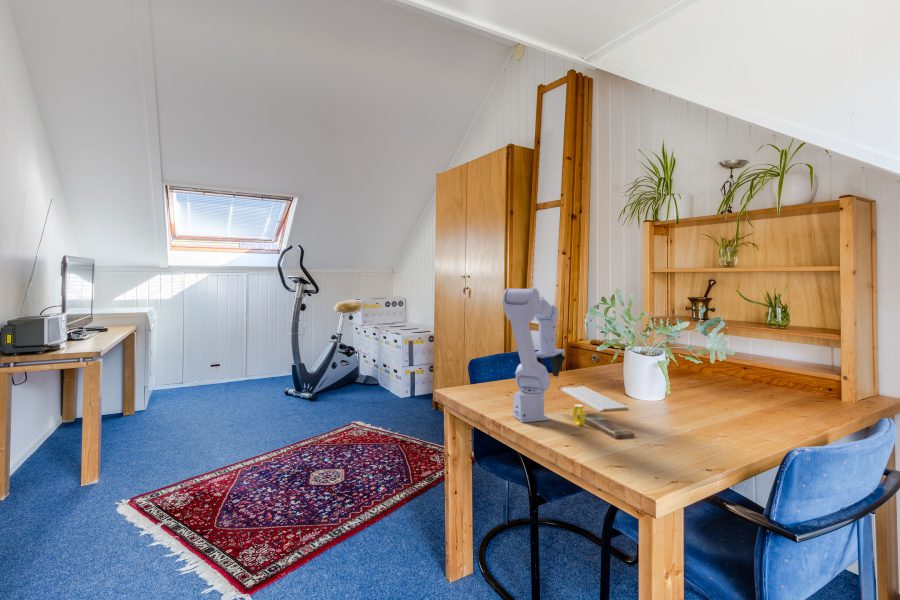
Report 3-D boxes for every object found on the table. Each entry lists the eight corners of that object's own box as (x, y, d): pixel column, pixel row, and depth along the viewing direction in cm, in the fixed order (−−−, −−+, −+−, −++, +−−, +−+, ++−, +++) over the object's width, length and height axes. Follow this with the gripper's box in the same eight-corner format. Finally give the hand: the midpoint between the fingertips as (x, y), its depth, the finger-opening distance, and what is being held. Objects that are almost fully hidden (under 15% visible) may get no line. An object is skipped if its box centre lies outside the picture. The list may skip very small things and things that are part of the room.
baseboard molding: (595, 413, 153) (627, 411, 155) (595, 405, 153) (627, 403, 155) (556, 391, 183) (584, 390, 186) (556, 384, 183) (584, 382, 185)
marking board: (615, 438, 127) (615, 435, 127) (577, 417, 146) (577, 414, 146) (634, 436, 128) (634, 433, 128) (594, 416, 148) (594, 413, 148)
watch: (570, 422, 143) (570, 403, 143) (579, 422, 143) (578, 403, 143) (578, 427, 137) (577, 407, 137) (587, 426, 137) (586, 407, 137)
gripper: (538, 342, 151) (538, 382, 152) (570, 338, 158) (570, 376, 159) (525, 339, 157) (525, 378, 158) (556, 336, 164) (556, 373, 165)
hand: (547, 377), depth 159 cm, fingers open, 7 cm apart
